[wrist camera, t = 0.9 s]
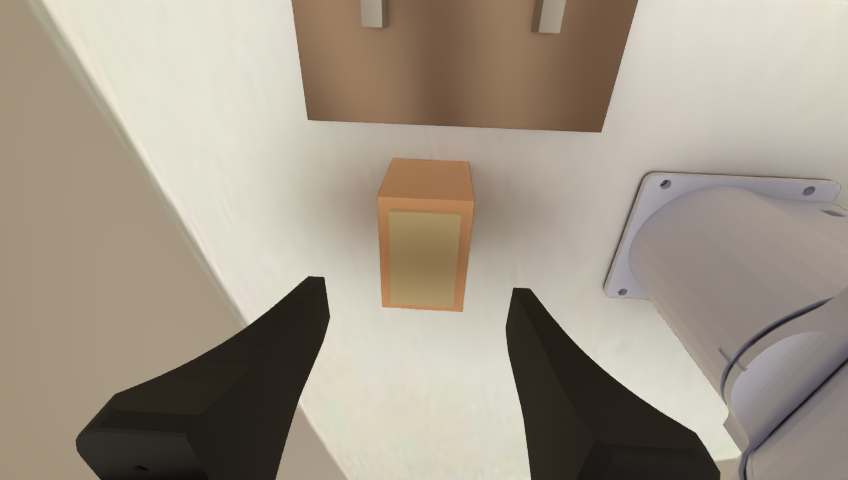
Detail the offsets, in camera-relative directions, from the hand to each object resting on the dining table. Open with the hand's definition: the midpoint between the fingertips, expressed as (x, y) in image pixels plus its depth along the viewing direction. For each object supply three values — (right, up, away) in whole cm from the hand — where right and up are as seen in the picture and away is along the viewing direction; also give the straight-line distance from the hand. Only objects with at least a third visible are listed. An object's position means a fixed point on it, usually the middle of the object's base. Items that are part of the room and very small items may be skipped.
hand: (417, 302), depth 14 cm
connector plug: (+1, +4, +7) cm, 8 cm away
